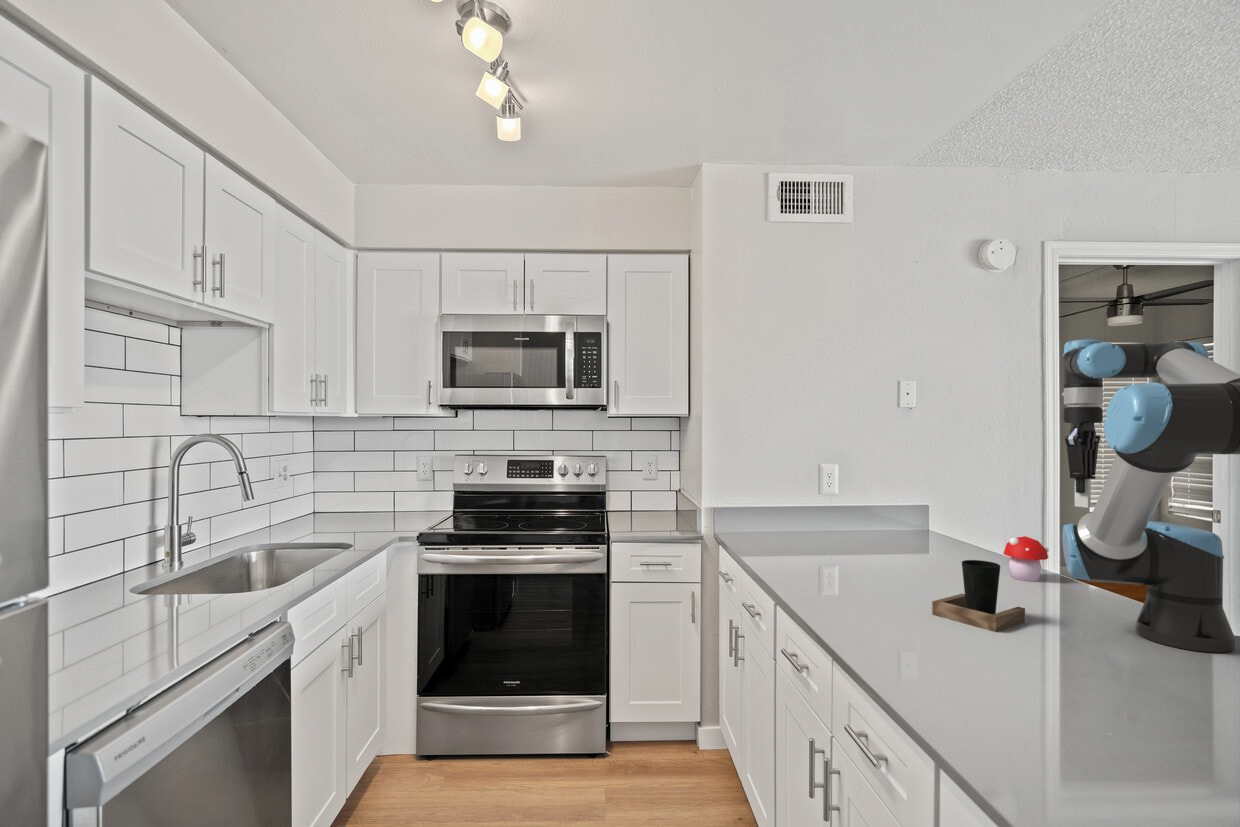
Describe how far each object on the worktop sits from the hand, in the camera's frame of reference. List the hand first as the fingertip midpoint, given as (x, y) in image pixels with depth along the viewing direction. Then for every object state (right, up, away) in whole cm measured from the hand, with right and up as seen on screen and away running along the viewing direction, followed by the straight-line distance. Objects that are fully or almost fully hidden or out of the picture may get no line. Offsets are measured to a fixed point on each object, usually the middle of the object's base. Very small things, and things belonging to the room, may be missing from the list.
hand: (1082, 506), depth 151 cm
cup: (-27, -24, -5) cm, 37 cm away
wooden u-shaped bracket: (-27, -24, -6) cm, 37 cm away
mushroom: (+5, -25, +30) cm, 39 cm away
